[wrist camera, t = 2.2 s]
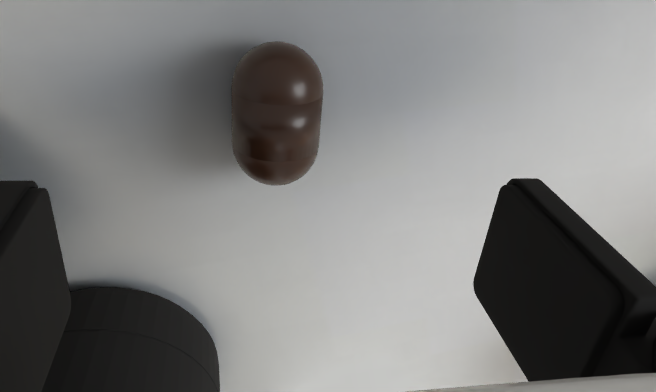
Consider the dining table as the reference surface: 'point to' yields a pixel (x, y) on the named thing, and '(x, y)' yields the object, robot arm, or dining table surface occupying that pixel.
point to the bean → (276, 112)
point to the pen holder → (132, 346)
